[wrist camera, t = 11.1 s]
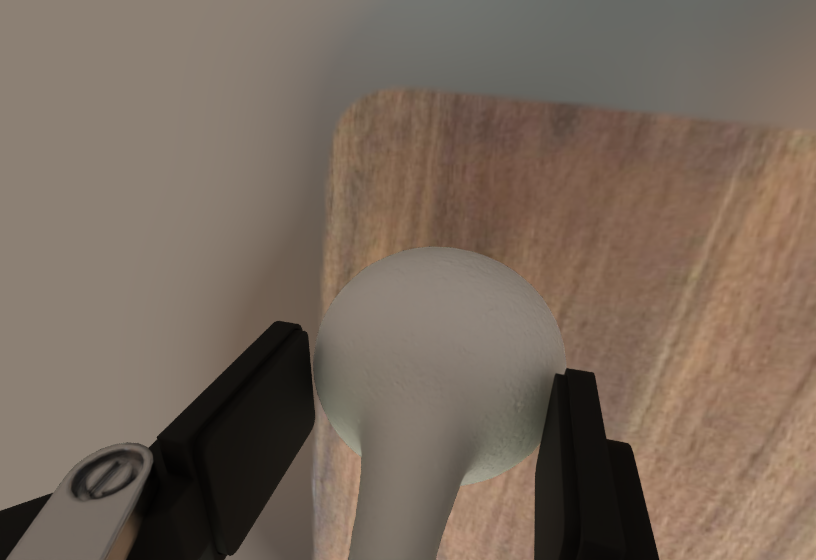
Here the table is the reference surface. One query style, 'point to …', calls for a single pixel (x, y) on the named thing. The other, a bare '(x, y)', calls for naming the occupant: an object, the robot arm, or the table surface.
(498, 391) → the garlic bulb
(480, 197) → the table surface
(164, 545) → the robot arm
